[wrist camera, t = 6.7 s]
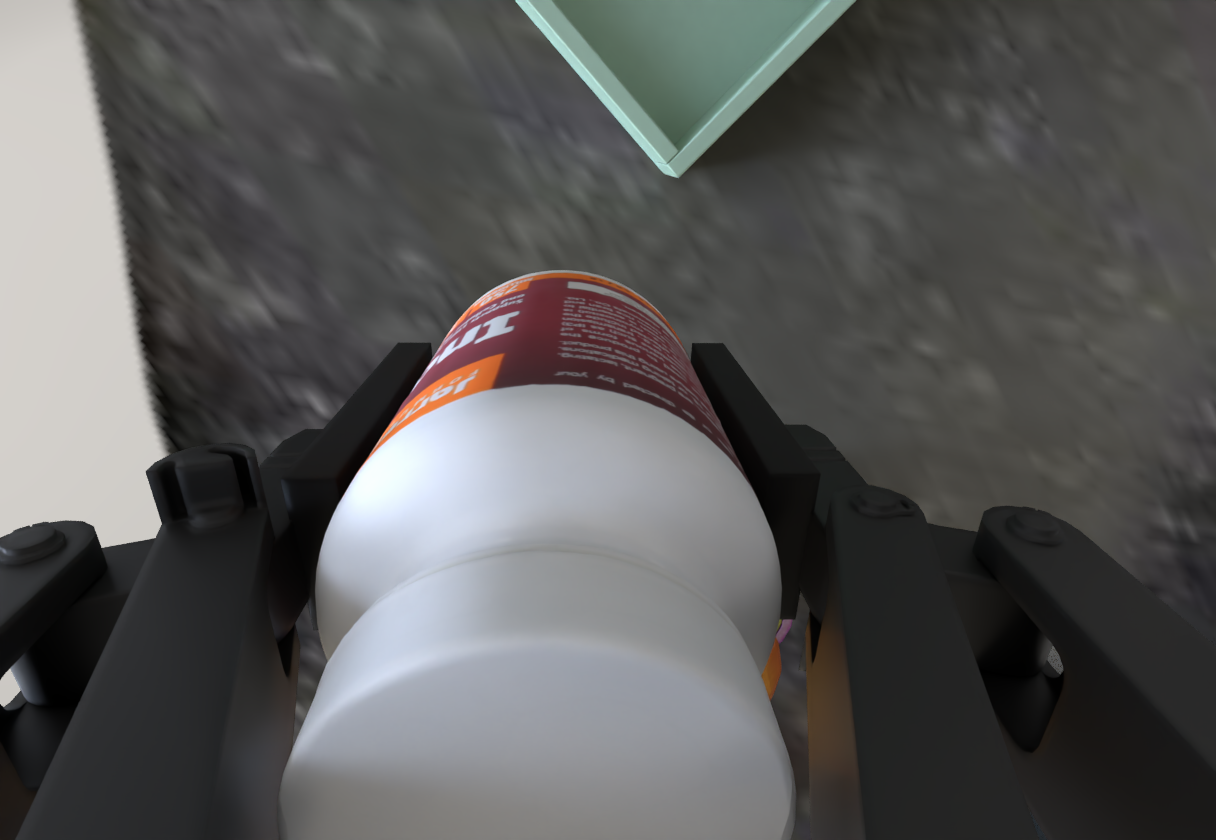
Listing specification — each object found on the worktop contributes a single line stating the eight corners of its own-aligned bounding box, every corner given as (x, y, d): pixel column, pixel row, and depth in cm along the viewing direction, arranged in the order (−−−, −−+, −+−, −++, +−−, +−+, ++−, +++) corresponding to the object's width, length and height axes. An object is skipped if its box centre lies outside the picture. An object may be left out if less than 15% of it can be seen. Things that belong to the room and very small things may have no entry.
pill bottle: (492, 217, 14) (281, 416, 4) (732, 330, 15) (1042, 698, 5) (403, 447, 16) (117, 962, 6) (620, 529, 17) (685, 1060, 7)
